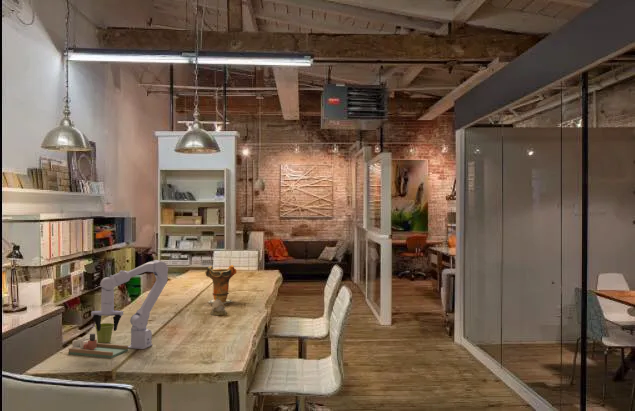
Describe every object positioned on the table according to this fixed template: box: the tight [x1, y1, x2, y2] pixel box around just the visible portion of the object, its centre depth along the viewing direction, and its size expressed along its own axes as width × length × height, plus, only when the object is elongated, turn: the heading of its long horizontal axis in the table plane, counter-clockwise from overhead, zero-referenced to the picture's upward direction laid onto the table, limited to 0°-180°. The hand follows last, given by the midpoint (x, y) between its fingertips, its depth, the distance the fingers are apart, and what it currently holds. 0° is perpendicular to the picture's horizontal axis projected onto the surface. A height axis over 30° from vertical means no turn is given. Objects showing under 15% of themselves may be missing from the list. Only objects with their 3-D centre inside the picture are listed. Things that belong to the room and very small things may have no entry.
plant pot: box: [94, 322, 114, 344], centre depth 254 cm, size 9×9×9 cm
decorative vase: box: [205, 264, 237, 305], centre depth 370 cm, size 21×23×28 cm
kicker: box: [84, 332, 98, 350], centre depth 237 cm, size 4×6×7 cm, turn 166°
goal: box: [72, 336, 90, 349], centre depth 238 cm, size 5×8×5 cm, turn 166°
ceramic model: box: [210, 298, 228, 316], centre depth 328 cm, size 14×11×10 cm
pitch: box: [68, 342, 129, 359], centre depth 236 cm, size 24×12×2 cm, turn 76°
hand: (107, 330), depth 238 cm, fingers open, 7 cm apart
